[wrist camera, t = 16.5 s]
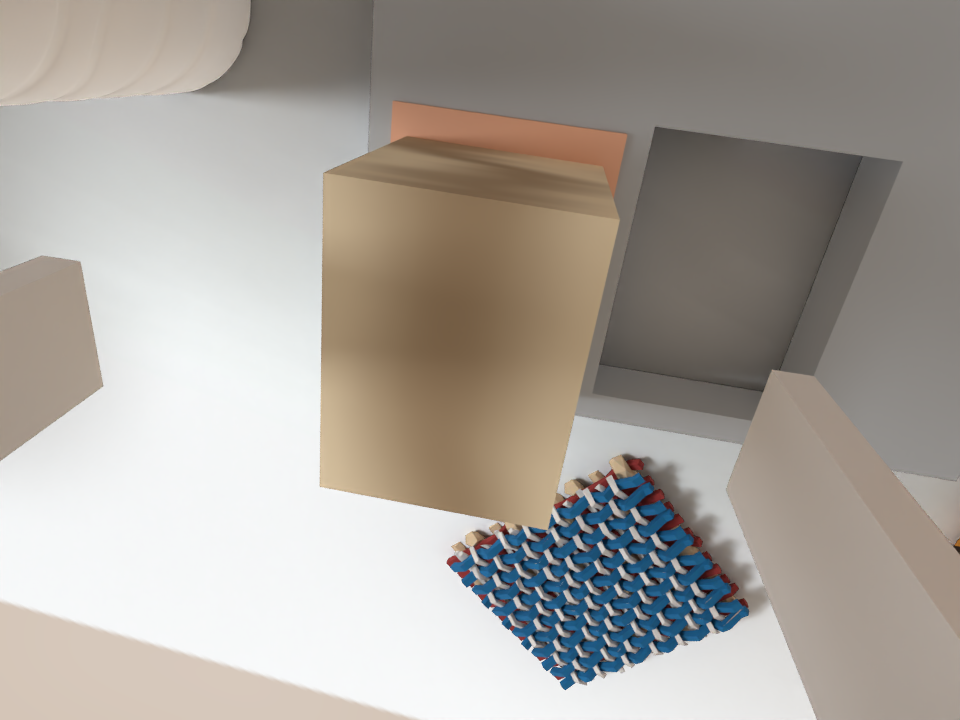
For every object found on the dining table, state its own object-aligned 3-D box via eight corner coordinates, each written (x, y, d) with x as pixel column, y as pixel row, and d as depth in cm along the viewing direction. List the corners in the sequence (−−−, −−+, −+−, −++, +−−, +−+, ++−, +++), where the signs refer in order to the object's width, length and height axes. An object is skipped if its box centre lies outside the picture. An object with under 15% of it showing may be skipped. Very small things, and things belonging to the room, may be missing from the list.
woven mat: (439, 537, 30) (431, 568, 28) (629, 436, 26) (634, 465, 24) (562, 667, 32) (562, 703, 31) (750, 594, 29) (762, 630, 27)
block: (390, 367, 22) (319, 486, 16) (406, 136, 19) (323, 173, 12) (554, 396, 22) (547, 530, 16) (602, 166, 18) (620, 219, 12)
